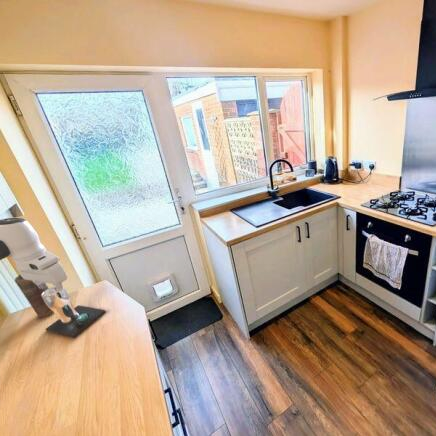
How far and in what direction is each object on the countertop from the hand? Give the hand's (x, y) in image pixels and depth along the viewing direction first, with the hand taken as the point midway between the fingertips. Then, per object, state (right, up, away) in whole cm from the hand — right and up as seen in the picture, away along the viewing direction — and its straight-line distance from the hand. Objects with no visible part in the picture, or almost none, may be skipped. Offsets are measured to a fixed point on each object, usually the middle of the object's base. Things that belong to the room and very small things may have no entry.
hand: (51, 289), depth 95 cm
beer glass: (+1, -14, +7) cm, 16 cm away
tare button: (+9, -13, +4) cm, 17 cm away
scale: (+4, -15, +7) cm, 17 cm away
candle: (-14, -14, +14) cm, 25 cm away
